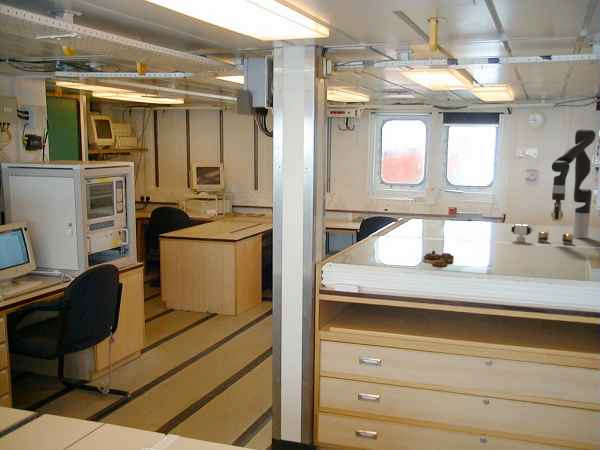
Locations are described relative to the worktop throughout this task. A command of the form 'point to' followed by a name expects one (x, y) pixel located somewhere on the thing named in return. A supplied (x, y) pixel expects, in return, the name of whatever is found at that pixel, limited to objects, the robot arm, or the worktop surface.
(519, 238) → the pneumatic valve
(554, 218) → the block
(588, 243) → the worktop surface
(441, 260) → the gear puzzle
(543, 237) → the pipe stubs
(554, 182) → the robot arm
